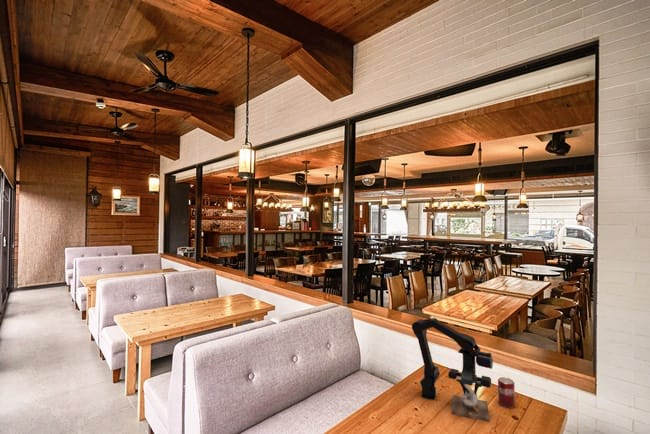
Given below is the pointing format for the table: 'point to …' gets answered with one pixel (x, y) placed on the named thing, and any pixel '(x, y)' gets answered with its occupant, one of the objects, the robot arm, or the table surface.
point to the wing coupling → (470, 399)
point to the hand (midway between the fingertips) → (469, 395)
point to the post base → (462, 411)
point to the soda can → (506, 392)
